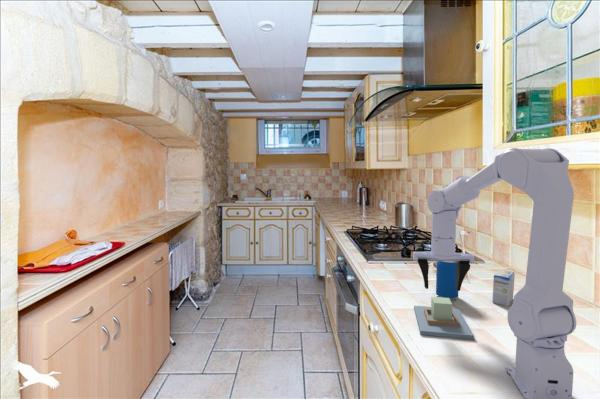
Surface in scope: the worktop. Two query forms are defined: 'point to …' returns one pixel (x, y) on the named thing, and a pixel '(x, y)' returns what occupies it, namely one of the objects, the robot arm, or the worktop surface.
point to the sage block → (441, 309)
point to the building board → (442, 324)
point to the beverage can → (446, 280)
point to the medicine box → (503, 287)
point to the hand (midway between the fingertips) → (441, 288)
